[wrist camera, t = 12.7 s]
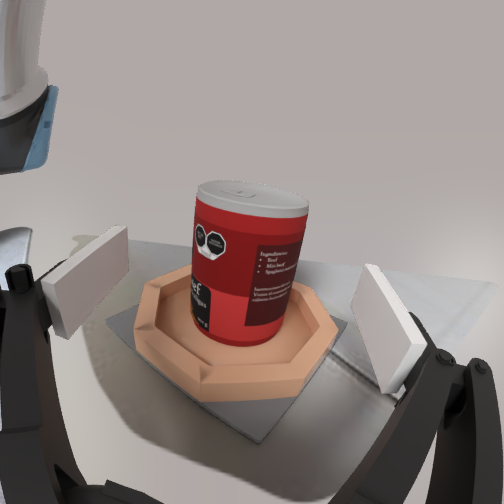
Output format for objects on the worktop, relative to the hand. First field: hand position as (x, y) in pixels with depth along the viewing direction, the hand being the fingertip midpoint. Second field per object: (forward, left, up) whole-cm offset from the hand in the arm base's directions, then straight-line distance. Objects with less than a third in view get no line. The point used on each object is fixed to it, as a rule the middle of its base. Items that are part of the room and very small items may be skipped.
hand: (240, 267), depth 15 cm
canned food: (-3, +5, -8) cm, 11 cm away
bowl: (-3, +5, -9) cm, 11 cm away
